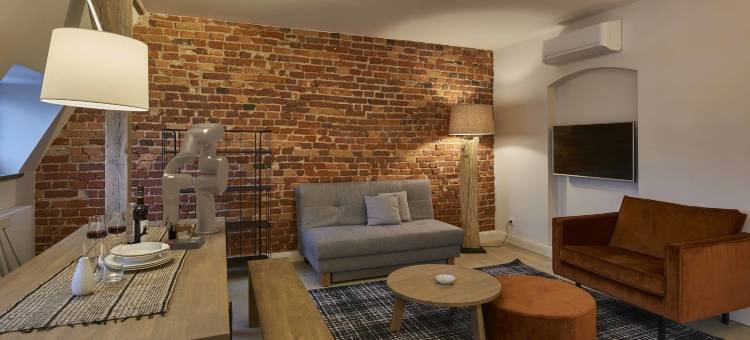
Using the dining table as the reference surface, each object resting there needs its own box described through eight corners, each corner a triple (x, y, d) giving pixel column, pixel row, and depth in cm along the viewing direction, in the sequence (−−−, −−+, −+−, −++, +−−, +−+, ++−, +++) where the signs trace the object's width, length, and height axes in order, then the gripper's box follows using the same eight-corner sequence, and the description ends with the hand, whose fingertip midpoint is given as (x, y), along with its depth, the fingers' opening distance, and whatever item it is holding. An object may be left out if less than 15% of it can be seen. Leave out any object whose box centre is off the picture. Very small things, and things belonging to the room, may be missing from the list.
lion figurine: (167, 240, 215) (166, 222, 214) (166, 238, 219) (165, 221, 218) (197, 236, 222) (197, 220, 222) (196, 234, 227) (195, 218, 226)
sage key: (192, 242, 205) (192, 237, 205) (201, 241, 206) (201, 237, 206) (190, 244, 201) (190, 239, 201) (198, 243, 202) (198, 239, 202)
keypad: (169, 243, 207) (169, 237, 207) (204, 242, 209) (204, 236, 209) (161, 250, 195) (161, 243, 195) (198, 248, 197) (198, 242, 197)
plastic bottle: (136, 244, 206) (134, 204, 204) (122, 244, 206) (120, 203, 204) (143, 241, 212) (142, 202, 211) (130, 241, 212) (128, 202, 211)
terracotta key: (169, 242, 204) (169, 238, 204) (178, 242, 204) (178, 237, 204) (167, 244, 200) (166, 240, 200) (176, 244, 200) (175, 239, 200)
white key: (181, 240, 205) (181, 235, 204) (189, 240, 205) (189, 235, 205) (178, 242, 201) (178, 237, 200) (187, 242, 201) (187, 237, 201)
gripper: (168, 199, 207) (169, 236, 209) (157, 203, 193) (158, 243, 194) (184, 199, 209) (185, 235, 210) (174, 203, 194) (175, 242, 195)
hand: (172, 239), depth 202 cm, fingers closed
